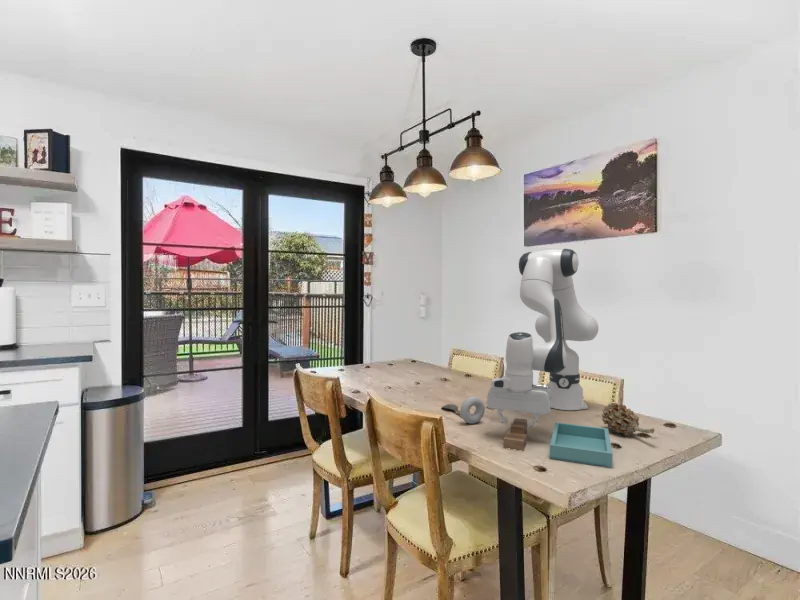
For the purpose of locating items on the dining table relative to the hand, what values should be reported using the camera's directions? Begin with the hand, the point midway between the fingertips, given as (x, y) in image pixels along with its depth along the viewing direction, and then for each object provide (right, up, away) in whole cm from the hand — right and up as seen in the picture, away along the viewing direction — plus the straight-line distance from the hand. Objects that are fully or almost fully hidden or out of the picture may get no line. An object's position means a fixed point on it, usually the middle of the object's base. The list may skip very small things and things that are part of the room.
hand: (517, 424), depth 147 cm
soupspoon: (-16, -5, +28) cm, 33 cm away
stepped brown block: (0, -5, -1) cm, 5 cm away
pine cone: (+39, -5, +5) cm, 39 cm away
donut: (-12, -4, +16) cm, 21 cm away
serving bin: (+17, -5, -8) cm, 20 cm away
